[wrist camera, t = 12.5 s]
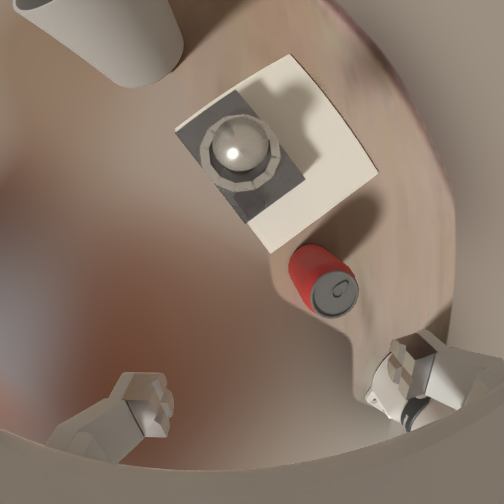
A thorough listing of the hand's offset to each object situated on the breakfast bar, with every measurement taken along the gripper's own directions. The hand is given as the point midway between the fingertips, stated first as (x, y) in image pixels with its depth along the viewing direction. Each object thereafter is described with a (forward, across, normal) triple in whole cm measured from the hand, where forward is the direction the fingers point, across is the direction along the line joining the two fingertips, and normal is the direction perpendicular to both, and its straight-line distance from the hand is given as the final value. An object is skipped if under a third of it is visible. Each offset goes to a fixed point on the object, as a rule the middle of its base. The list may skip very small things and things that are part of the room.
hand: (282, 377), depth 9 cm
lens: (+26, 0, -10) cm, 28 cm away
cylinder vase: (+31, +12, -30) cm, 45 cm away
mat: (+31, -6, -11) cm, 34 cm away
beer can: (+31, -8, +6) cm, 33 cm away
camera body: (+31, 0, -10) cm, 32 cm away
